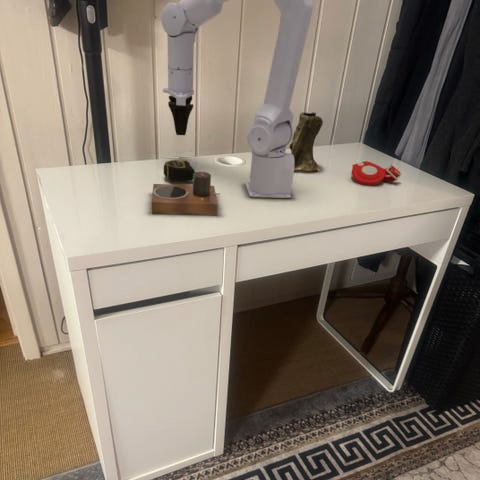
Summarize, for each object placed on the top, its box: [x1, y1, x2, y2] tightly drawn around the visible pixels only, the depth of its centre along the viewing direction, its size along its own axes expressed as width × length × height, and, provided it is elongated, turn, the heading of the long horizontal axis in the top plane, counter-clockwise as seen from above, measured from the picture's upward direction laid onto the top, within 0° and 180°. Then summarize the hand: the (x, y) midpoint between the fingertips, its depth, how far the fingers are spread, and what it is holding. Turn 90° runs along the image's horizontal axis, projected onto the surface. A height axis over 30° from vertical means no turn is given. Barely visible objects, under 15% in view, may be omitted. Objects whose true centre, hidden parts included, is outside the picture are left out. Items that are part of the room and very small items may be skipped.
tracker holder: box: [351, 160, 403, 186], centre depth 119 cm, size 12×4×10 cm
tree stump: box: [289, 111, 324, 172], centre depth 120 cm, size 10×10×13 cm
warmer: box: [151, 183, 221, 216], centre depth 96 cm, size 14×10×3 cm
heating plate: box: [154, 186, 188, 199], centre depth 95 cm, size 7×7×1 cm
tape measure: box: [163, 159, 196, 183], centre depth 108 cm, size 7×7×4 cm
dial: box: [192, 171, 212, 197], centre depth 95 cm, size 4×4×4 cm
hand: (180, 131), depth 112 cm, fingers open, 6 cm apart
